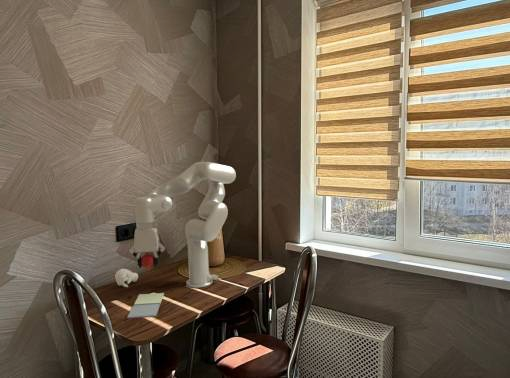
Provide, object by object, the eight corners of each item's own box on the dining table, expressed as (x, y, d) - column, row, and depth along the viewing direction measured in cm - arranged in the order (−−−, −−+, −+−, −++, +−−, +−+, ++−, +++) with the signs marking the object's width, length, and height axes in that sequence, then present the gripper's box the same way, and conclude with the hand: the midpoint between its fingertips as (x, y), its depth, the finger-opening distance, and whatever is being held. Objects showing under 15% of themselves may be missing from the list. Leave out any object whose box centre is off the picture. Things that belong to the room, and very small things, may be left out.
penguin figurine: (113, 269, 189) (132, 264, 200) (113, 286, 190) (132, 281, 200) (122, 271, 186) (141, 266, 197) (122, 289, 186) (141, 283, 197)
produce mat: (163, 294, 179) (163, 292, 179) (160, 303, 168) (160, 302, 168) (139, 295, 178) (139, 294, 178) (134, 305, 167) (134, 304, 167)
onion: (138, 271, 170) (137, 253, 169) (146, 267, 175) (145, 249, 174) (150, 272, 168) (149, 254, 167) (158, 268, 173) (156, 250, 172)
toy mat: (159, 305, 167) (159, 303, 167) (155, 316, 156) (155, 315, 156) (133, 306, 166) (133, 305, 166) (127, 318, 155) (127, 316, 155)
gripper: (166, 222, 174) (169, 262, 176) (126, 225, 172) (129, 265, 174) (164, 226, 166) (167, 267, 168) (122, 228, 164) (126, 270, 167)
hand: (148, 266), depth 171 cm, fingers closed on onion, 5 cm apart
